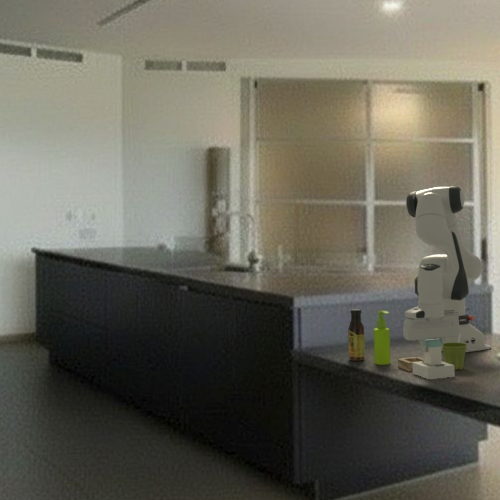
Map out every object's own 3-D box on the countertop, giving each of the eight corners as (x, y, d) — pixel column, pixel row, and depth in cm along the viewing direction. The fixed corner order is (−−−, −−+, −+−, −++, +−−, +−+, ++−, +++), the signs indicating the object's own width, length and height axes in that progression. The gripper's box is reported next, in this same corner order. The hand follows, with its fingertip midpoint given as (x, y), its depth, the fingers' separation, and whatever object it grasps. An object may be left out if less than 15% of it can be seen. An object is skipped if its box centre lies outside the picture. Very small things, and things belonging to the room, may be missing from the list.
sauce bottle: (347, 359, 297) (345, 308, 297) (362, 358, 298) (361, 307, 297) (350, 362, 291) (349, 310, 290) (366, 361, 291) (365, 309, 291)
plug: (434, 361, 264) (433, 338, 263) (441, 364, 259) (441, 340, 259) (424, 362, 263) (423, 339, 262) (431, 365, 258) (430, 341, 258)
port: (438, 371, 268) (437, 358, 267) (454, 376, 257) (454, 363, 257) (412, 373, 265) (412, 360, 265) (428, 379, 254) (427, 366, 254)
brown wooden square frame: (418, 364, 280) (418, 356, 280) (431, 369, 271) (431, 361, 271) (397, 366, 278) (397, 358, 278) (409, 371, 269) (409, 363, 269)
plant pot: (463, 372, 265) (463, 347, 264) (437, 370, 270) (436, 345, 269) (471, 367, 273) (470, 343, 272) (445, 365, 278) (444, 341, 277)
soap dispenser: (382, 365, 281) (381, 312, 280) (371, 363, 287) (369, 310, 286) (395, 363, 284) (393, 310, 283) (384, 361, 290) (382, 309, 289)
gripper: (453, 308, 266) (454, 347, 266) (400, 312, 261) (401, 352, 261) (463, 310, 260) (464, 350, 260) (409, 314, 254) (410, 355, 255)
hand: (432, 351), depth 261 cm, fingers closed on plug, 4 cm apart
